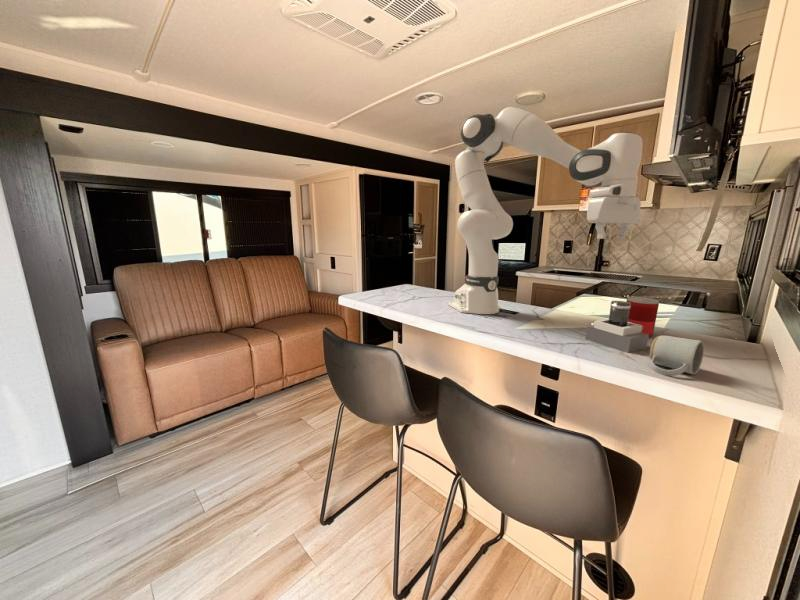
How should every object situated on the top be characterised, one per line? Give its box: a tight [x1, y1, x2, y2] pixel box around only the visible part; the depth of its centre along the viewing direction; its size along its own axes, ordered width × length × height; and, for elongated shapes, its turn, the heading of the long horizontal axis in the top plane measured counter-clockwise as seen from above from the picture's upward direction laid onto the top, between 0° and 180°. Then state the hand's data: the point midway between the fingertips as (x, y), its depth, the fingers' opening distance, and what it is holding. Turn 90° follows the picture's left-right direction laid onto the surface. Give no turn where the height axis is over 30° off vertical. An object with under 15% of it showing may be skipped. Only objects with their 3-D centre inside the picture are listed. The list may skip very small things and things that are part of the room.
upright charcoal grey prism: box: [608, 300, 631, 327], centre depth 87 cm, size 5×5×8 cm
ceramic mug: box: [649, 335, 705, 377], centre depth 71 cm, size 11×8×8 cm
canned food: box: [625, 296, 660, 338], centre depth 97 cm, size 8×8×11 cm
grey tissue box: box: [585, 318, 649, 353], centre depth 88 cm, size 12×8×6 cm, turn 24°
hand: (611, 238), depth 96 cm, fingers open, 8 cm apart
